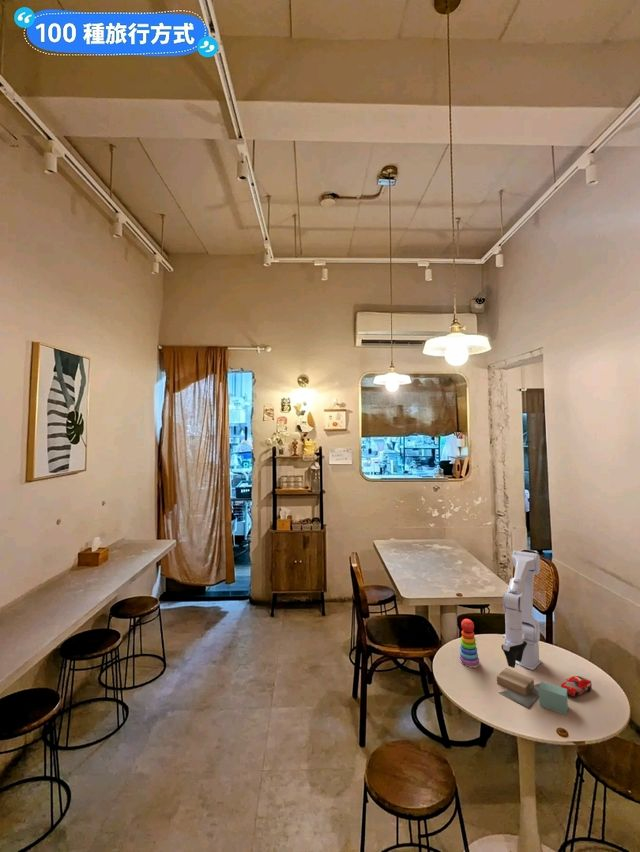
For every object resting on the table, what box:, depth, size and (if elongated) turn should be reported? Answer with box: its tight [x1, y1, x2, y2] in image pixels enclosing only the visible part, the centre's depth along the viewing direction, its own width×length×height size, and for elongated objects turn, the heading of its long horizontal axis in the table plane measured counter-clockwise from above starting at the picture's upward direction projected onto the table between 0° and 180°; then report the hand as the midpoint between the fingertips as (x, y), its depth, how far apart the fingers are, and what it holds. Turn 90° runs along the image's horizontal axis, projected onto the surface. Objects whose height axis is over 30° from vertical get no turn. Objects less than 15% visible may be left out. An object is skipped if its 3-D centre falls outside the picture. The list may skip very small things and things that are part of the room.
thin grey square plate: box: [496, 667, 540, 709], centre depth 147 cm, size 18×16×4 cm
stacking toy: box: [459, 618, 480, 668], centre depth 162 cm, size 8×8×19 cm
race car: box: [560, 675, 593, 698], centre depth 144 cm, size 13×5×4 cm, turn 116°
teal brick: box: [538, 680, 569, 715], centre depth 137 cm, size 5×8×6 cm, turn 54°
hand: (514, 663), depth 147 cm, fingers open, 5 cm apart
